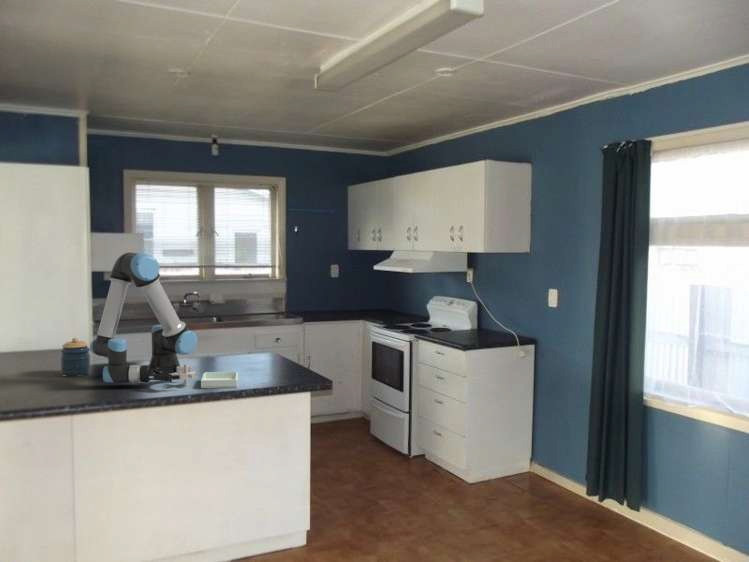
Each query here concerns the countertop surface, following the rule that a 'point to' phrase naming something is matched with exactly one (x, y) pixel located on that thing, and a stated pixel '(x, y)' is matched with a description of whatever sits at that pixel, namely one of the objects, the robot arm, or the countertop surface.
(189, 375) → the pipe connector
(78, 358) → the canister
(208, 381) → the tray
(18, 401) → the countertop surface
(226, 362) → the countertop surface
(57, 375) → the countertop surface
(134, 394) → the countertop surface
